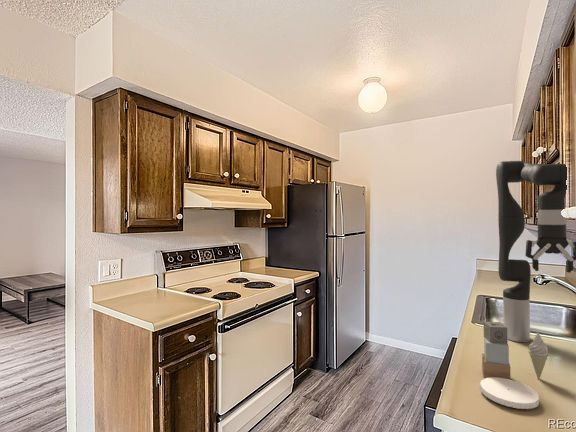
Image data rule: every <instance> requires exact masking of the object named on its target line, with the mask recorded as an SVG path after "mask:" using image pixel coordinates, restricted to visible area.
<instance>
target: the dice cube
mask: <svg viewBox="0 0 576 432" xmlns="http://www.w3.org/2000/svg"><path fill="white" fill-rule="evenodd" d="M484 337H485V338H486V339H487V340H488V341H489V342H491V343H508V340H509V339H507V327H506V326H504V325H503V323H502V322H500V321H499V322H497V321H483V338H484ZM508 344H509V343H508Z"/></svg>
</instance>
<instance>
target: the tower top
mask: <svg viewBox="0 0 576 432" xmlns="http://www.w3.org/2000/svg"><path fill="white" fill-rule="evenodd" d="M483 338H484V339H483V340H484V341H483V342H484V344H483V345H484V346H483V347H484V353H483V354H484V355H485V359H486V362H491V363H497V364H503V365H509V364H510V353H509V351H510V349H509V348H510V347H509V343H491V342H489V341H488V340H487V339H486V338H485V337H484V336H483Z"/></svg>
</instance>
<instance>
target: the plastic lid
mask: <svg viewBox="0 0 576 432" xmlns="http://www.w3.org/2000/svg"><path fill="white" fill-rule="evenodd" d="M479 389H480V392H481V393H482V394H483V395H484V396H485V397H486V398H487V399H489V400H491V401H493V402H495V403H496V404H500V405H502V406H505V407H509V408H513V409H514V408H515V409H519V410H520V409H521V410H525V409H526V410H532V409H535V408H537V407H539V405H540V395H539V393H538V392H537V391H536V390H534V389H533V387H530V386H528V385H526V384H524V383H522V382H520V381H518V380H517V381H516V380H512V379H511V380H509V379H505V378H498V377H490V378H484V377H483V379H481V380H480V383H479Z"/></svg>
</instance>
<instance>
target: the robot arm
mask: <svg viewBox="0 0 576 432" xmlns="http://www.w3.org/2000/svg"><path fill="white" fill-rule="evenodd" d="M565 164H566V163H550V164H549V163H547V164H544V163H530V162H526V161H523V160H509V161H508V160H503V161H500V162H498V163H497V165H496V168H495V178H496V187H497V199H498V200H497V201H498V202H497V203H498V205H497V206H498V209H497V210H498V215H497V216H498V219H497V222H498V238H499V239H498V241H499V245H498V246H499V247H498V248H499V249H498V250H499V252H498V277H499V279H500V280H501V281H502V282H503V281H504V282H518V283H517V284H516V285H513V286H512V287H507V288H505V289H503V290H502V303H503V304H502V310H503V311H502V312H503V313H502V317H503V320H502V321H503V323H502V324H503V325H504V326H506V327H507V340H509V341H513V342H518V343H529V342H530V341H531V311H530V310H531V307H530V306H531V305H530V304H531V301H530V295H531V274H532V273H531V271H532V269H533V270H534V272H535V271H536V272H538V271H540V270H539V265H540V264H539V262H540V261H539V259H540V257H541V256H543V254H544V253H545V254H557V255H558V254H561V255H562V256H563V257H564V258H565V259H566V260H565V272H566V273H572V272H573V271H574V261H576V240H572V241H568V240H567V223H568V222H567V221H568V220H567V217H566V218H564V217H563V216H562V215H561V211H562V210H563V209H565V210H566V195H567V192H566V190H567V191H568V189H567V185H566V180H567V167H566V165H565ZM522 182H527V183H532V184H534V185H535V186H536V185H537V186H553V189H552V190H551V191H550V190H549V191H546V192H545V191H544V192H542V193H539V195H538V197H537V198H538V200H537V202H538V205H537V209H538V212H537V240H530V239H527V240H526V243H525V257H526V258H528V259H531V260H532V261H531V262H532V263H531V264H532V269H531V265H530V262H529V261H528V260H525V259H512V258H511V259H509V257H510V253H511V250H512V248H513V246H514V245H515V243H516V242H517V240H518V239H519V238H520V237H521V236H522V234H523V232H524V231H525V229H526V228H525V227H526V225H525V224H526V223H525V211H524V210H523V208H522V207H521V205H520V204H519V203H518V202H517V200H516V199H515V198H514V197H513V195H512V193H511V191H510V188H509V183H522ZM535 245H536V246H537V247H538V249H537V250H536V251H535V252H534V254H532V249H533V247H534V246H535ZM568 246H569V247H570V248H571V249H572V254H573V255H570V253H569V252H568V251H567V250H566V248H567V247H568Z"/></svg>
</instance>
